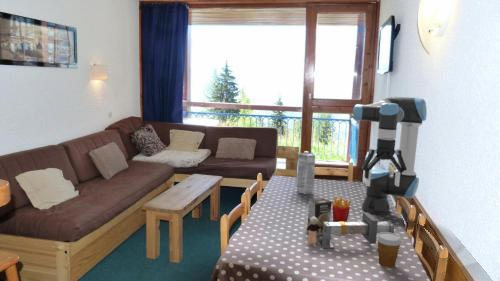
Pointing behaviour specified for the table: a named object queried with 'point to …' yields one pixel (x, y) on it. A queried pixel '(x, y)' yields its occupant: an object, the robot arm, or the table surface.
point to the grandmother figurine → (312, 231)
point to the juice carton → (305, 172)
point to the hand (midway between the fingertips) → (382, 185)
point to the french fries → (340, 210)
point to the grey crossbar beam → (350, 230)
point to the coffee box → (319, 212)
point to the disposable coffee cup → (388, 248)
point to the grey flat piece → (370, 228)
